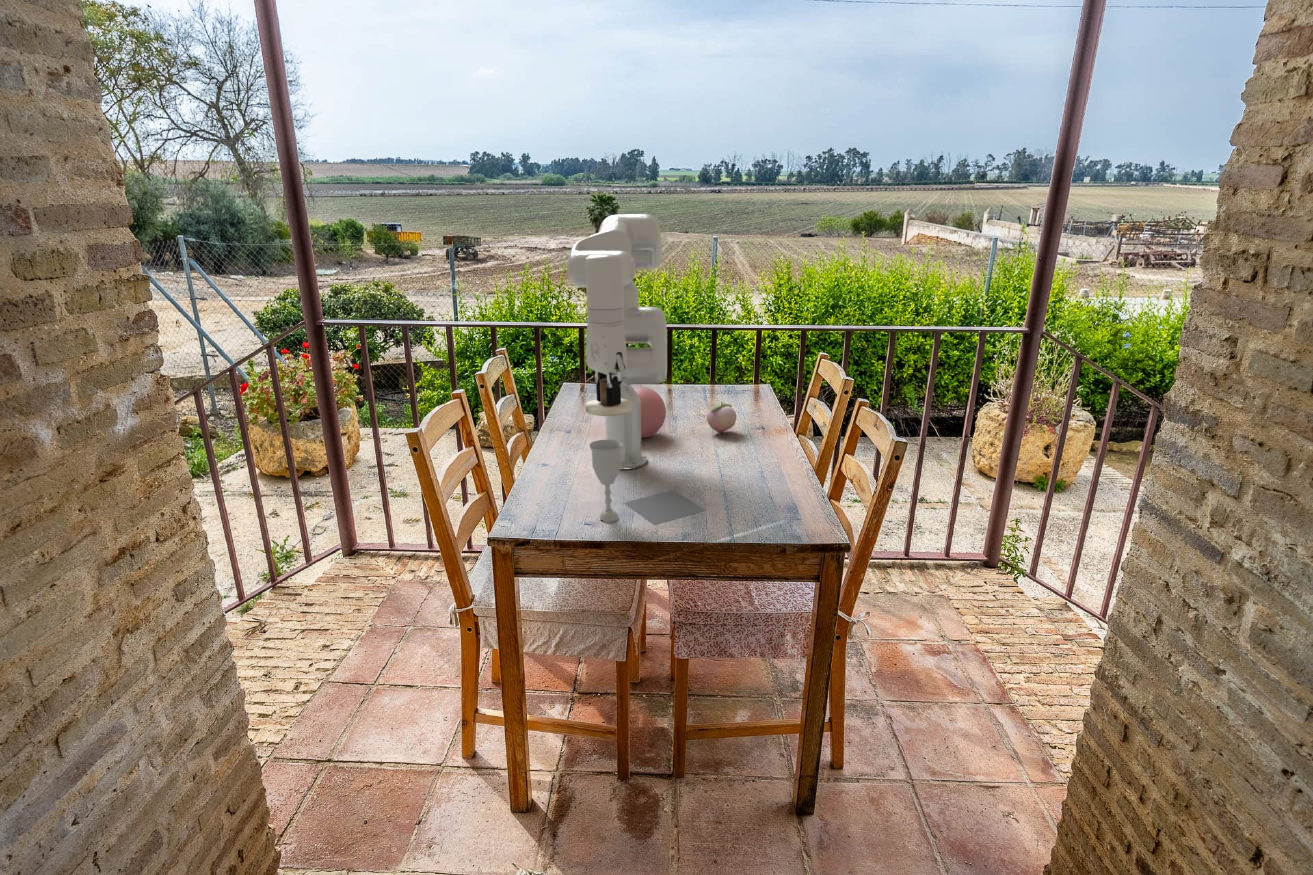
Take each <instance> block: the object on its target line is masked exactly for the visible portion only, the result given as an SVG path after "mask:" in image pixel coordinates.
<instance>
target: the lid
mask: <svg viewBox="0 0 1313 875" xmlns="http://www.w3.org/2000/svg"><path fill="white" fill-rule="evenodd" d="M612 379H613V378H612ZM606 387H608V384H607V378H605V379H601V380H600V402H599V401H597V398H595V399H592V400H590V401H587V402H586V403H585V412H586V413H587V414H589V415H592V416H597V417H598V416H599V417H605V416H617V415H623V414H626V413H629V412H631V411H632V409H633V405H632V402H631V401H629V400H627V399H622V398H621V404H619V405H613V406H607V402H606Z"/></svg>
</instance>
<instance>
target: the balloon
mask: <svg viewBox="0 0 1313 875" xmlns="http://www.w3.org/2000/svg"><path fill="white" fill-rule="evenodd" d="M633 389H634V390H635V391H636V392H637V394H638V396H639V398H640V404H641V439H645V437H646V438H648V437H652V436H653V435H654V434H656V433H657V432H659V431H660V429H661V428H662V427H663V425H664V423H665V421H666V417H667V409H666V404H665V402H664V399H663V398H662V397H661V395H660V394H659V393H658V392H656V391H655V390H653V389H652V388H650V387H647V386H635V387H633Z"/></svg>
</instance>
